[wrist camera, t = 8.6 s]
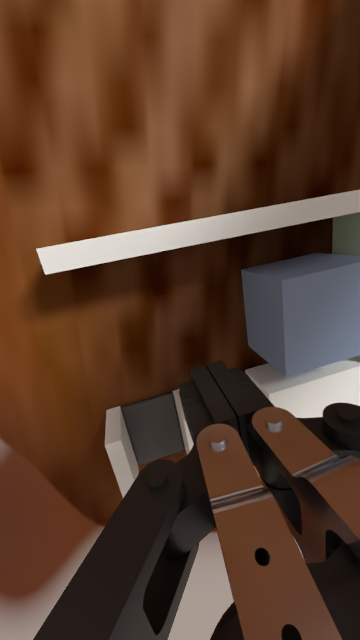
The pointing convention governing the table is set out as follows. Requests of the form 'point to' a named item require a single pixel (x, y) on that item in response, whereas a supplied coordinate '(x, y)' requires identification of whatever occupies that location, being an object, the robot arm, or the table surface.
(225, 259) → the table surface
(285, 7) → the table surface
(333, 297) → the block
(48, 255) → the white open shelf
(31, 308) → the table surface
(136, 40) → the table surface
